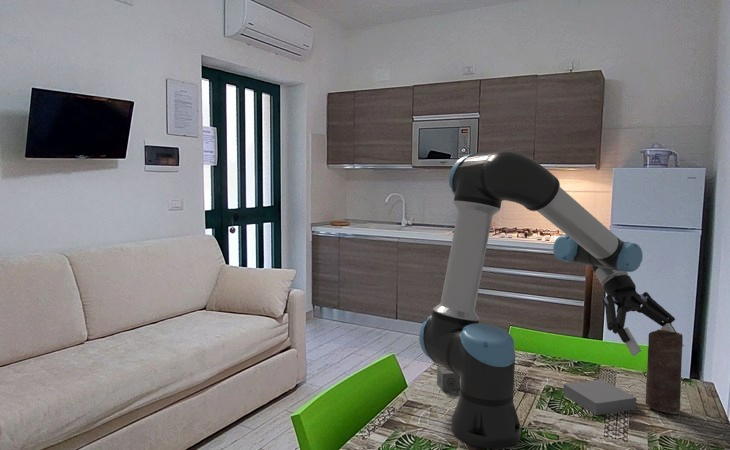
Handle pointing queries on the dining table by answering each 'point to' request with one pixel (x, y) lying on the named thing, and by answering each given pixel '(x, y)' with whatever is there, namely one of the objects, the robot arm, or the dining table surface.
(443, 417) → the dining table surface
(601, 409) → the stand
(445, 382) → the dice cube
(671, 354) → the candle
